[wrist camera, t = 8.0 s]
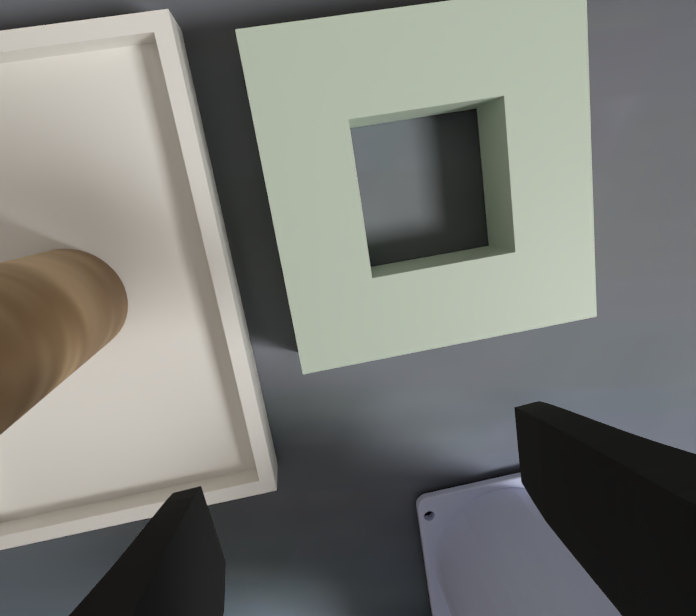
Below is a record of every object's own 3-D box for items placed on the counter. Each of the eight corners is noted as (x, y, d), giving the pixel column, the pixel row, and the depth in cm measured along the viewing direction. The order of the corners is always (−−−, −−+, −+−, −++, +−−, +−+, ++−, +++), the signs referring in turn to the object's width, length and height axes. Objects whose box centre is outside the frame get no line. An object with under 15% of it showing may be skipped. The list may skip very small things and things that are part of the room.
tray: (277, 464, 22) (276, 490, 20) (4, 522, 21) (-25, 555, 19) (181, 30, 17) (168, 8, 15) (-172, 77, 16) (-234, 61, 14)
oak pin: (139, 342, 19) (39, 445, 11) (32, 360, 18) (-150, 481, 10) (112, 241, 18) (-20, 275, 10) (-2, 258, 17) (-231, 308, 9)
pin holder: (561, 303, 21) (596, 316, 19) (301, 353, 20) (302, 374, 18) (547, 10, 19) (585, -19, 16) (242, 52, 18) (234, 29, 15)
